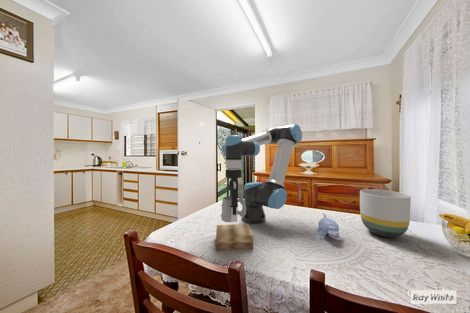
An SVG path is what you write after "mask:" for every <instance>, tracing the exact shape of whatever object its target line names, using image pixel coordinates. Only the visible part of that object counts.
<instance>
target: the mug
mask: <svg viewBox="0 0 470 313" xmlns="http://www.w3.org/2000/svg"><path fill="white" fill-rule="evenodd" d="M238 197H239V198H238V203H240V205H241V206H242V207H241V208H242V209H241V211H240V210H238V209H237V216H240V217H241V219H242V218H244V215H245V214H246V205H245V202H244V193H242V194H240V195H239V196H238ZM221 201H222V202H221V214H220V218H221V221H222V222H224V223H232V222H231V207H230V206H231V205H232V201H231V197H230V196H225V197H222V200H221Z"/></svg>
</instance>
